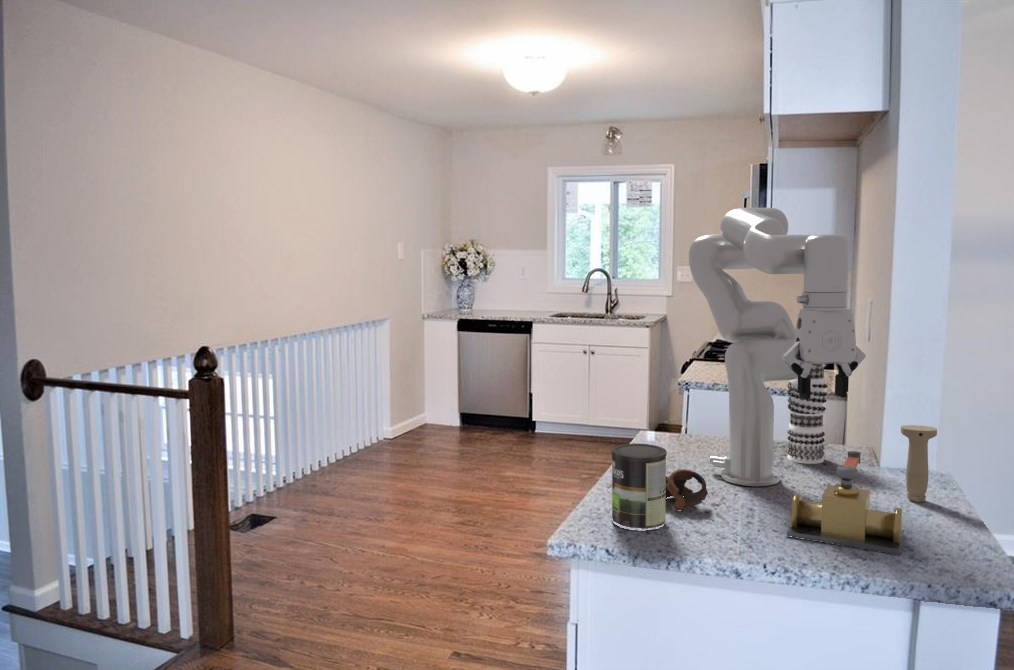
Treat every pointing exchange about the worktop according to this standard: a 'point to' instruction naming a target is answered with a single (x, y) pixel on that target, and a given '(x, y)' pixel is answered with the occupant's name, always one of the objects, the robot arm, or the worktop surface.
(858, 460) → the lever
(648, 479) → the coffee can
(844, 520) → the valve
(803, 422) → the white patterned cylinder
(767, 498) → the worktop surface
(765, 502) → the worktop surface
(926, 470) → the handle
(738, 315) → the robot arm
